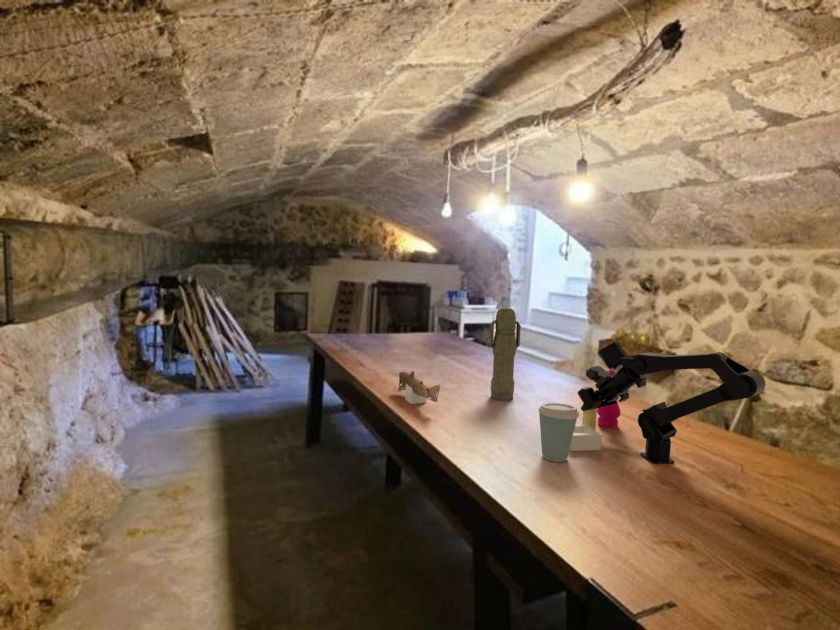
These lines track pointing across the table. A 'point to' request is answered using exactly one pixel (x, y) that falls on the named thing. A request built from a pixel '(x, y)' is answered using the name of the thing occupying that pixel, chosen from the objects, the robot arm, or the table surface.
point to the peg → (590, 417)
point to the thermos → (504, 353)
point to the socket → (585, 438)
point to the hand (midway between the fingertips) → (586, 408)
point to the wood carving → (416, 389)
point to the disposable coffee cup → (557, 430)
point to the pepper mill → (609, 412)
